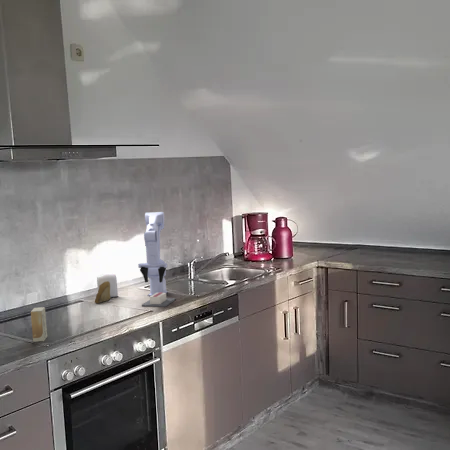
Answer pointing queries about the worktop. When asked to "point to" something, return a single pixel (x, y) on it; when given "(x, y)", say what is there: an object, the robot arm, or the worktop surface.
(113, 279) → the photo printer
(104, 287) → the rock
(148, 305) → the mat
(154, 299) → the card deck
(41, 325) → the skincare box
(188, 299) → the worktop surface
